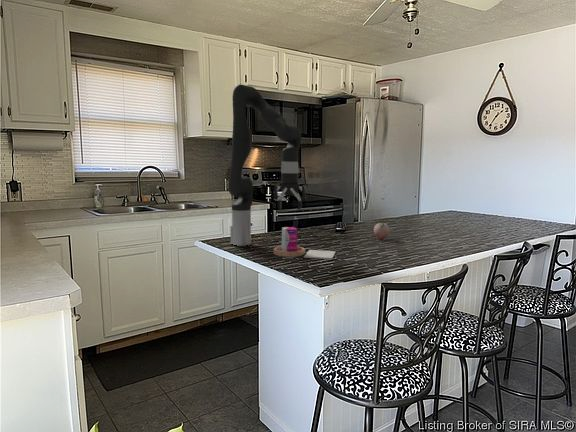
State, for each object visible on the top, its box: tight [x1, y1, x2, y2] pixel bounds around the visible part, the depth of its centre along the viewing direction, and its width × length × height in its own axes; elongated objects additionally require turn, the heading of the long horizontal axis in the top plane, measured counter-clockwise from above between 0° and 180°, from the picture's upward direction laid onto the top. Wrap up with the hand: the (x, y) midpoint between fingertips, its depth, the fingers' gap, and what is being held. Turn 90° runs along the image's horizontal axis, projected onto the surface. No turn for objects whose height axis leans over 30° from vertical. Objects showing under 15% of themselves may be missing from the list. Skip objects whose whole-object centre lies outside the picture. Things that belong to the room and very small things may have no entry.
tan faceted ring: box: [273, 245, 306, 258], centre depth 184 cm, size 14×14×2 cm
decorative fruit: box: [373, 220, 391, 240], centre depth 217 cm, size 9×8×10 cm
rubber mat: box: [303, 249, 337, 260], centre depth 181 cm, size 12×13×1 cm
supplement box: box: [281, 226, 298, 252], centre depth 183 cm, size 6×6×12 cm
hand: (289, 209), depth 181 cm, fingers open, 8 cm apart
